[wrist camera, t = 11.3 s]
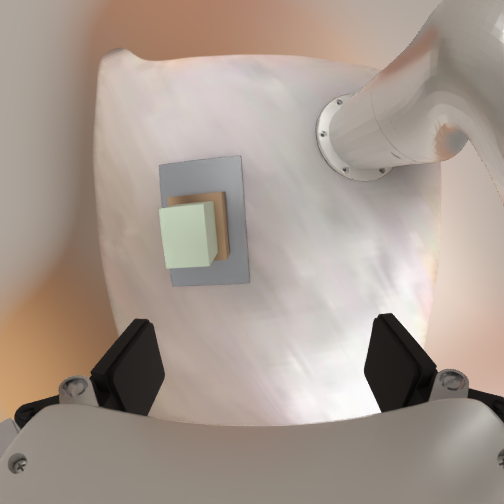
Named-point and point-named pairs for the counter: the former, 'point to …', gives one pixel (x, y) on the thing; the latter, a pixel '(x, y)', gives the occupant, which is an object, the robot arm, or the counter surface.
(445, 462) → the robot arm
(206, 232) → the sage block
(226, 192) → the slate baseplate
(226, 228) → the walnut base block
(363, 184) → the counter surface
